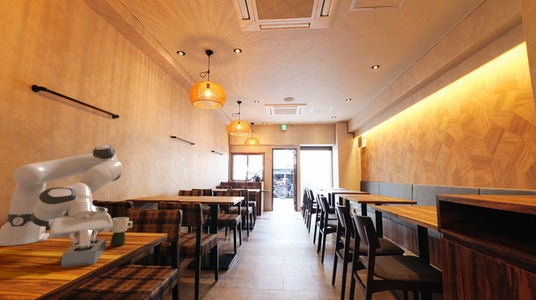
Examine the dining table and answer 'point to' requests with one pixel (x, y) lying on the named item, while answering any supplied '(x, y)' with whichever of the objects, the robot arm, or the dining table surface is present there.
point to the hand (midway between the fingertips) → (84, 242)
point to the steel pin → (84, 240)
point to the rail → (83, 254)
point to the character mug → (119, 230)
